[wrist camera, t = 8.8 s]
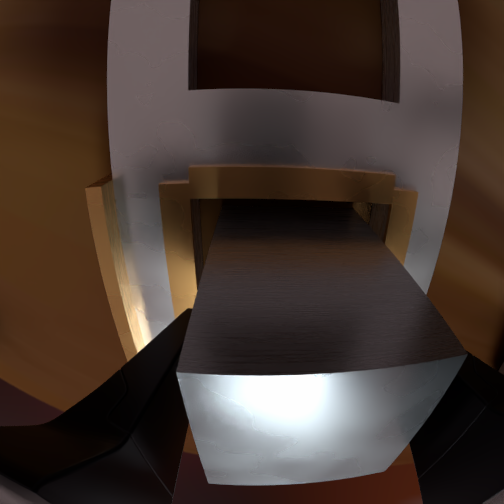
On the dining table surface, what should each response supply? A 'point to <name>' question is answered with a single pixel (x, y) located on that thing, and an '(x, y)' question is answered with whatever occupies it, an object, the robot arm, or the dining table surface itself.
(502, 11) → the dining table surface
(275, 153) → the white flat frame
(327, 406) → the steel block
